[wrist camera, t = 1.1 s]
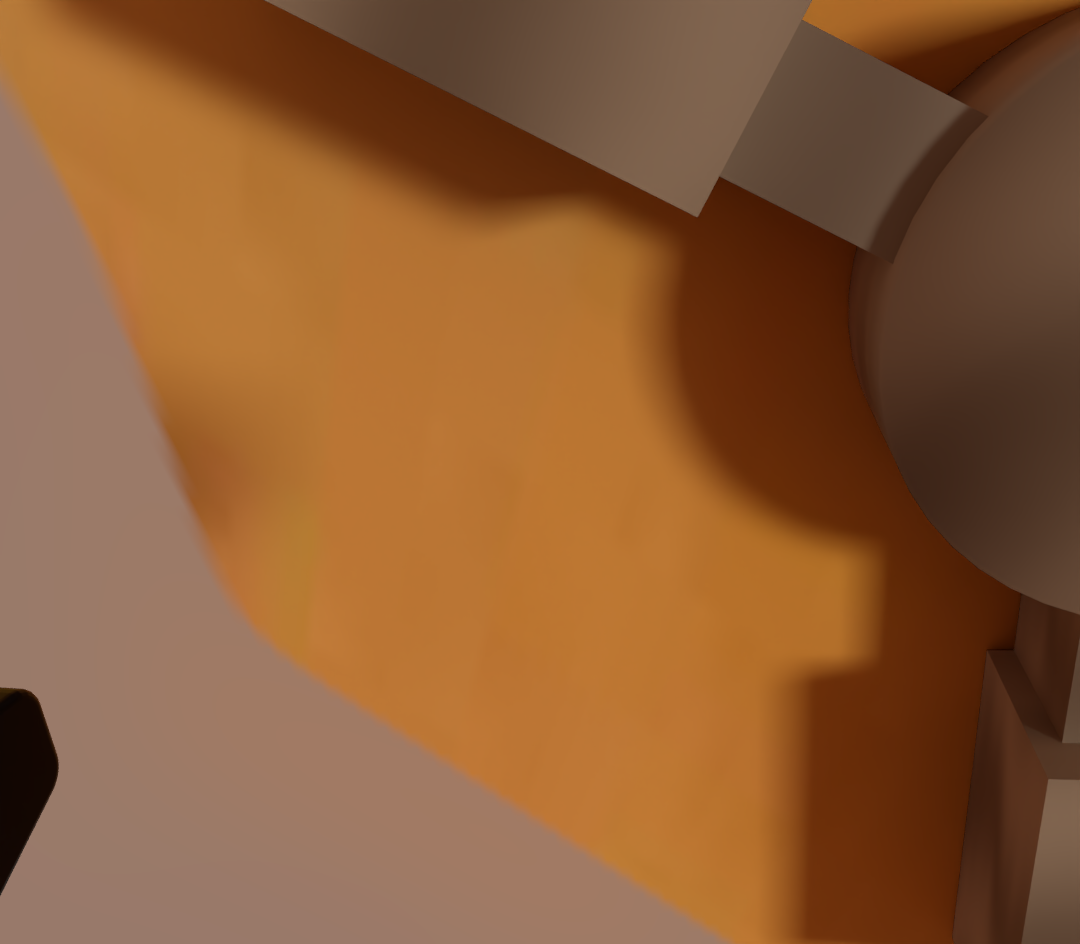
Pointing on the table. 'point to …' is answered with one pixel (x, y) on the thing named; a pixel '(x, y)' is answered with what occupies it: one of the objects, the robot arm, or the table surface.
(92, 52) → the table surface
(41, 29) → the table surface
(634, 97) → the wooden three-arm spinner
